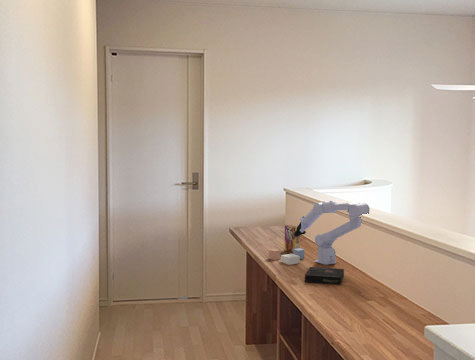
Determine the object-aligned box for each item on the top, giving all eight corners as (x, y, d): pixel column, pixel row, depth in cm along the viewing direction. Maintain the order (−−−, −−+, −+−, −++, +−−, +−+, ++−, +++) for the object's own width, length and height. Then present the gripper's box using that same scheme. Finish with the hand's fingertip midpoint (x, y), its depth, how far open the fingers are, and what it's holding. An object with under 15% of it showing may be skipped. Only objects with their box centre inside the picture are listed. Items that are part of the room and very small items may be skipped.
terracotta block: (280, 258, 311) (280, 249, 311) (275, 260, 308) (275, 251, 307) (274, 257, 314) (274, 248, 314) (268, 258, 311) (268, 249, 311)
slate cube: (304, 258, 311) (304, 249, 311) (297, 259, 309) (297, 250, 308) (299, 257, 315) (299, 248, 315) (292, 258, 313) (293, 249, 312)
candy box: (300, 251, 328) (300, 225, 327) (295, 252, 326) (295, 226, 324) (289, 249, 335) (289, 224, 334) (284, 250, 333) (284, 224, 331)
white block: (299, 263, 301) (299, 256, 300) (289, 265, 297) (289, 257, 297) (291, 260, 307) (291, 253, 306) (281, 262, 303) (281, 255, 302)
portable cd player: (343, 276, 274) (343, 268, 273) (340, 286, 257) (340, 277, 257) (310, 274, 278) (310, 266, 278) (304, 283, 262) (304, 275, 262)
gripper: (308, 206, 313) (295, 220, 321) (301, 220, 302) (287, 234, 310) (318, 214, 313) (305, 227, 322) (311, 228, 302) (297, 242, 310)
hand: (297, 231), depth 316 cm, fingers open, 7 cm apart
